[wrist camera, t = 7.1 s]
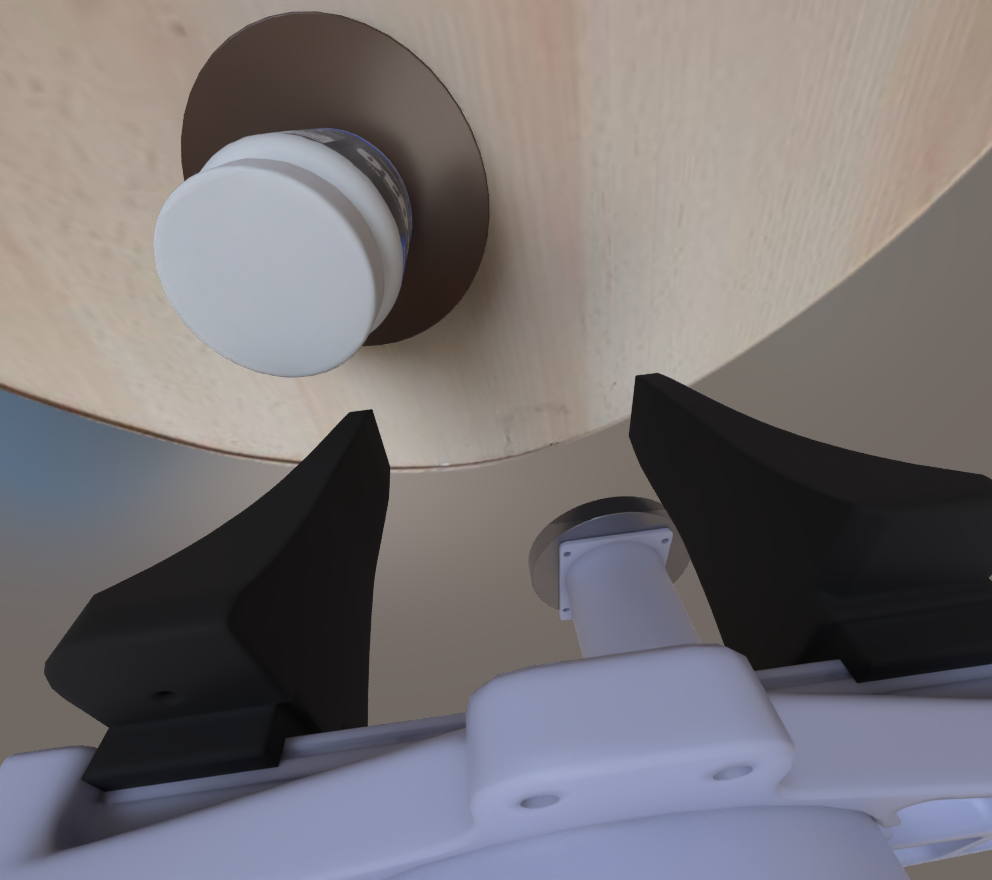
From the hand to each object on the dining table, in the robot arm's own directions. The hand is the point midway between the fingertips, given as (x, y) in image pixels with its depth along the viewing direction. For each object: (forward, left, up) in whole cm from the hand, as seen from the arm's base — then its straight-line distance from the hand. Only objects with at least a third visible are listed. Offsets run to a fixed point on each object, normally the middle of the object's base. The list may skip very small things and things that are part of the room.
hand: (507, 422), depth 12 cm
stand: (+5, +5, -10) cm, 12 cm away
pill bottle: (+5, +5, -7) cm, 10 cm away
